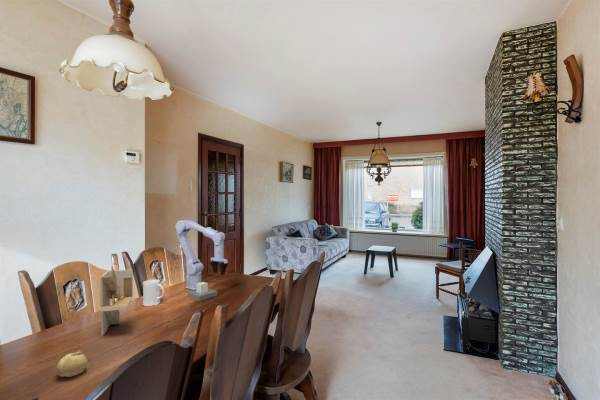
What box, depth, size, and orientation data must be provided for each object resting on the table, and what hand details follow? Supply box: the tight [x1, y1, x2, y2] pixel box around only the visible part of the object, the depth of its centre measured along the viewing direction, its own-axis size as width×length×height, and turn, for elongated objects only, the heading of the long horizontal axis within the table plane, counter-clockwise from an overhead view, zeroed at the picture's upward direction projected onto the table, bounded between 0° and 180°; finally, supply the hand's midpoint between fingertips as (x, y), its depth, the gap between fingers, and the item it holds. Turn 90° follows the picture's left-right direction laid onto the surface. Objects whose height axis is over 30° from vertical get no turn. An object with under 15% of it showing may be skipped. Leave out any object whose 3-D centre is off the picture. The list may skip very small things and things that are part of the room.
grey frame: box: [99, 265, 134, 337], centre depth 132 cm, size 10×16×29 cm, turn 20°
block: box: [196, 281, 209, 294], centre depth 178 cm, size 4×4×5 cm
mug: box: [142, 279, 165, 307], centre depth 165 cm, size 12×8×12 cm
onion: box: [55, 350, 88, 379], centre depth 98 cm, size 8×8×7 cm
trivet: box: [187, 288, 218, 301], centre depth 179 cm, size 12×12×2 cm
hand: (219, 273), depth 192 cm, fingers open, 7 cm apart
